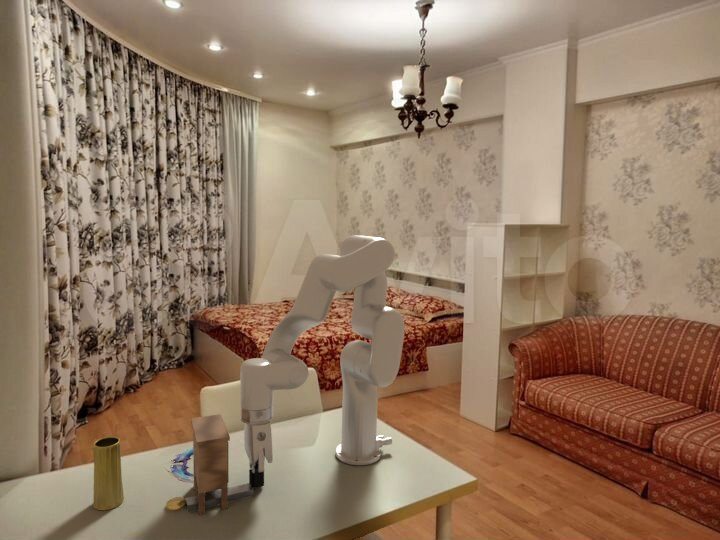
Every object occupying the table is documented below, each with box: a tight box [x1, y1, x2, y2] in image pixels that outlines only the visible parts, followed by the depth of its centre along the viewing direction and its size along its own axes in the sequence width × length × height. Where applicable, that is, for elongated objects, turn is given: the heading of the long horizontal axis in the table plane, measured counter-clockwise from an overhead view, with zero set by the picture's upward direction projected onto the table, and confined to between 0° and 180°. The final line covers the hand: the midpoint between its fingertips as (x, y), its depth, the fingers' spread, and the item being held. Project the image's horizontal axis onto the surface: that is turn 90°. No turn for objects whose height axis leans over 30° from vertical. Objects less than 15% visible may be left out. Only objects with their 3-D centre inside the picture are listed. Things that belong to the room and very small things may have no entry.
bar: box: [185, 482, 254, 514], centre depth 110 cm, size 14×3×2 cm, turn 118°
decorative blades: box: [170, 447, 194, 484], centre depth 126 cm, size 20×1×10 cm
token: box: [165, 496, 186, 513], centre depth 107 cm, size 4×4×1 cm
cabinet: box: [190, 413, 231, 516], centre depth 110 cm, size 7×13×17 cm, turn 24°
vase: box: [92, 436, 125, 511], centre depth 107 cm, size 6×6×14 cm
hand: (256, 485), depth 115 cm, fingers closed
